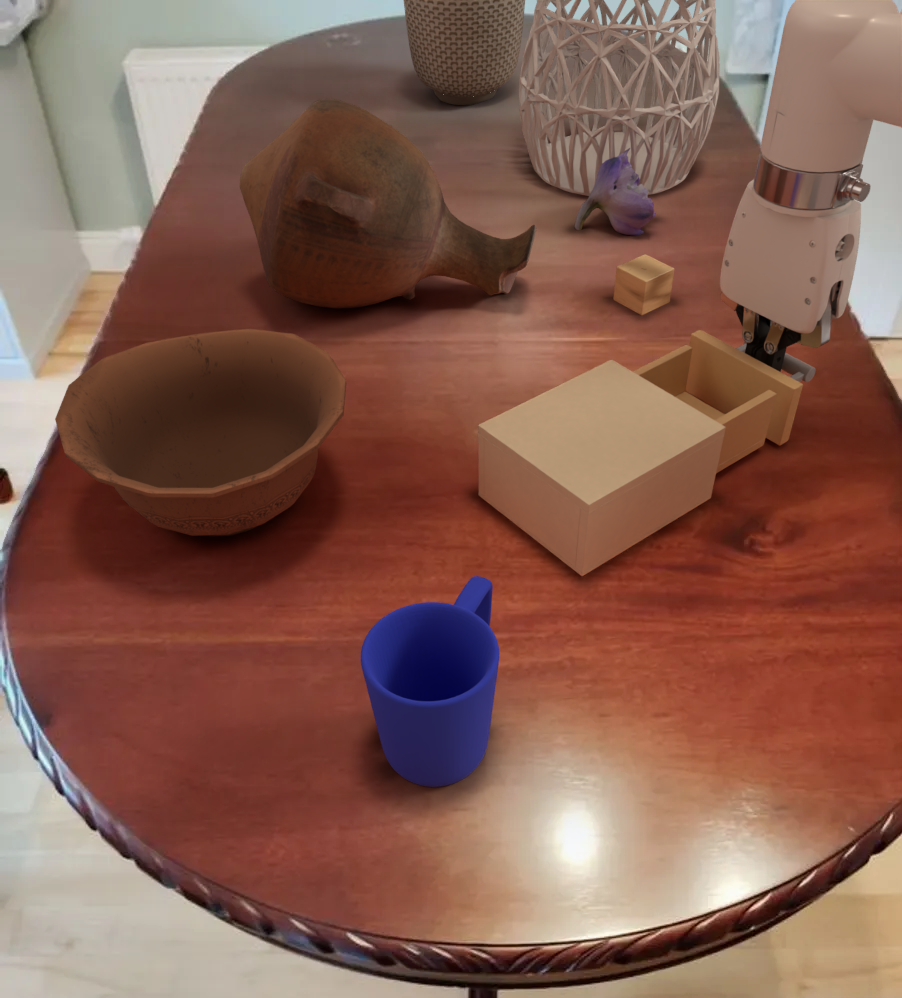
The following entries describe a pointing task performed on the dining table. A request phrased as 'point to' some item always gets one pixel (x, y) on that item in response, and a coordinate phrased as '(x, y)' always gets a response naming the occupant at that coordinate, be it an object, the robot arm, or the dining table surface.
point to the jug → (362, 215)
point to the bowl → (205, 426)
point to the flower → (619, 197)
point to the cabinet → (598, 463)
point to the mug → (434, 685)
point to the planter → (464, 45)
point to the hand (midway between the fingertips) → (758, 381)
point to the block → (643, 284)
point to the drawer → (732, 391)
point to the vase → (584, 153)
